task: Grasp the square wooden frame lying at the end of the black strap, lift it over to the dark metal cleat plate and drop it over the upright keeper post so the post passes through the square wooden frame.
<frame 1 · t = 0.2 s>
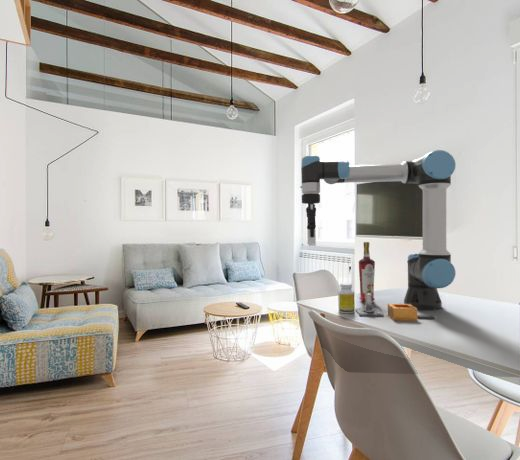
hand: (311, 245, 148), 28 cm above the table, fingers open, 13 cm apart
liquor: (367, 302, 168), on the table
pill bottle: (346, 312, 147), on the table
square wooden frame: (402, 317, 136), on the table
strap: (425, 318, 136), on the table
keeper: (368, 313, 144), on the table
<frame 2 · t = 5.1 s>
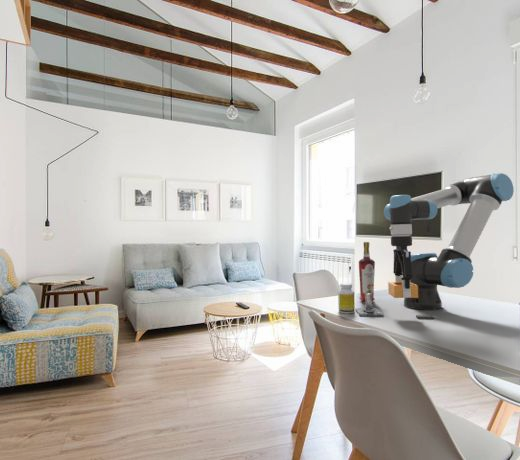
hand: (403, 294, 137), 9 cm above the table, fingers closed on square wooden frame, 8 cm apart
square wooden frame: (402, 295, 137), point 8 cm above the table, touching gripper
everything else where it was.
when the fingers open (1 cm above the table, at t = 8.8 s): square wooden frame stays where it is, resting on keeper.
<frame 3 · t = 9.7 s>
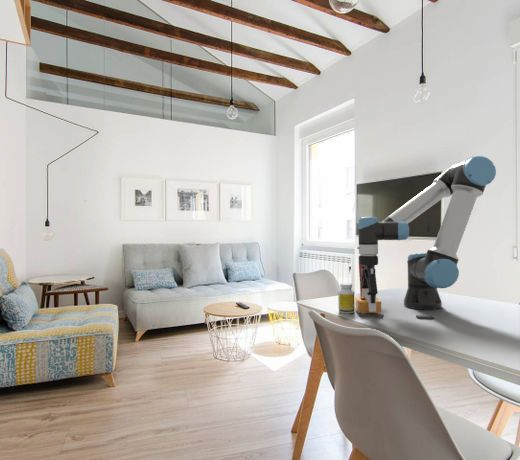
hand: (368, 307, 144), 2 cm above the table, fingers open, 13 cm apart
square wooden frame: (368, 310, 144), point 1 cm above the table, touching keeper
everything else where it was.
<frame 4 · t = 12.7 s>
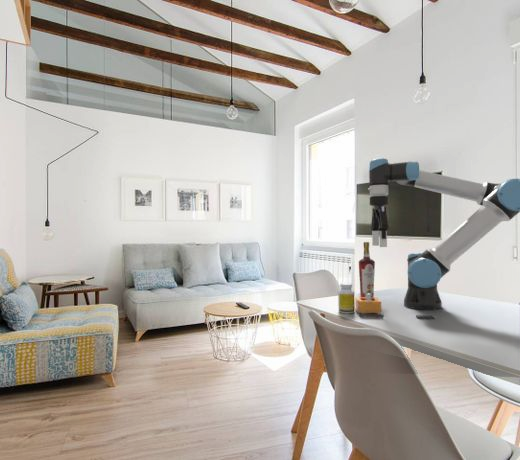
hand: (379, 246, 151), 27 cm above the table, fingers open, 13 cm apart
nothing on the table moved.
at the end: square wooden frame 0.3 cm off-centre on the keeper, point 1.1 cm above the keeper's base; the gripper is holding nothing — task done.
